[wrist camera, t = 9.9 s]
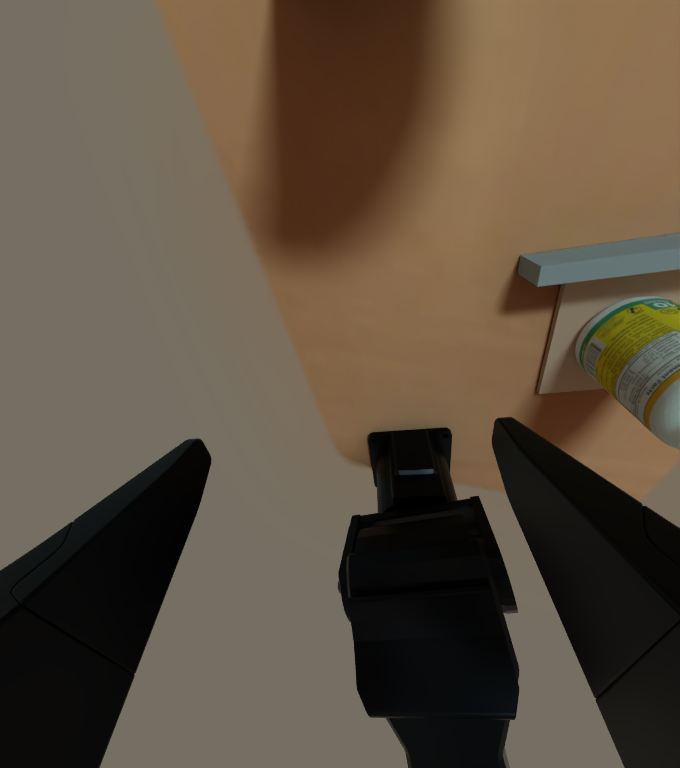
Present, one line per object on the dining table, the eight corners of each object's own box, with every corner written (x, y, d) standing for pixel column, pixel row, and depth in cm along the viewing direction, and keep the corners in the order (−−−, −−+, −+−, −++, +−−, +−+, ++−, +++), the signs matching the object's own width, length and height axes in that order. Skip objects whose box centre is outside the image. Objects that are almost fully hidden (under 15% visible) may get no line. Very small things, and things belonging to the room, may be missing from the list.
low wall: (789, 238, 16) (853, 247, 14) (517, 273, 18) (537, 286, 16) (802, 216, 15) (870, 222, 13) (520, 255, 17) (541, 266, 15)
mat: (664, 380, 21) (669, 384, 21) (536, 390, 22) (538, 394, 22) (727, 255, 16) (734, 257, 16) (563, 276, 18) (567, 278, 17)
